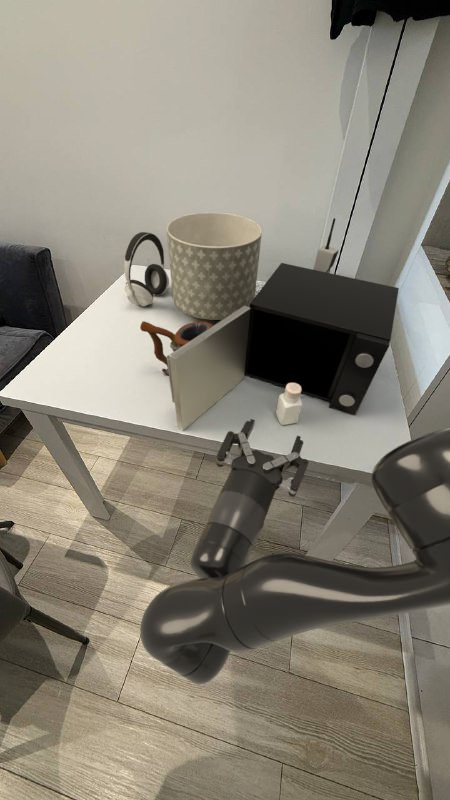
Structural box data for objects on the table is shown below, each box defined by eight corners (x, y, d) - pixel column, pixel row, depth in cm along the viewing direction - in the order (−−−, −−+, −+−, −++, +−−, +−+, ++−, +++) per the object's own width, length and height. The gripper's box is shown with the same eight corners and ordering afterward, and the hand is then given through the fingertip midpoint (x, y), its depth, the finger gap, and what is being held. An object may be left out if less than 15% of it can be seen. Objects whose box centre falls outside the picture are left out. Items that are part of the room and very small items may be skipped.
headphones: (145, 316, 99) (133, 249, 84) (122, 310, 101) (106, 243, 87) (175, 288, 111) (170, 225, 97) (154, 283, 113) (146, 220, 99)
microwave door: (165, 418, 71) (153, 345, 57) (226, 369, 83) (230, 298, 69) (182, 431, 69) (175, 358, 55) (243, 378, 81) (250, 308, 67)
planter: (227, 341, 92) (230, 256, 74) (157, 314, 100) (146, 231, 83) (266, 303, 106) (277, 224, 89) (203, 282, 115) (202, 206, 98)
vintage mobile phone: (319, 305, 107) (342, 222, 88) (306, 300, 109) (325, 218, 90) (324, 300, 109) (347, 219, 91) (311, 295, 111) (331, 214, 93)
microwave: (354, 418, 73) (389, 346, 59) (239, 381, 81) (245, 309, 66) (368, 356, 89) (398, 287, 74) (270, 330, 96) (281, 262, 82)
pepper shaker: (280, 426, 71) (288, 396, 64) (274, 413, 74) (281, 382, 67) (297, 423, 72) (306, 393, 65) (291, 410, 74) (299, 379, 68)
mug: (140, 386, 78) (129, 334, 67) (157, 356, 86) (149, 306, 75) (213, 399, 76) (214, 347, 65) (224, 367, 84) (225, 316, 73)
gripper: (292, 517, 43) (319, 430, 54) (197, 477, 47) (239, 403, 57) (283, 539, 49) (309, 456, 59) (198, 501, 52) (236, 429, 63)
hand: (274, 430), depth 58 cm, fingers open, 8 cm apart
